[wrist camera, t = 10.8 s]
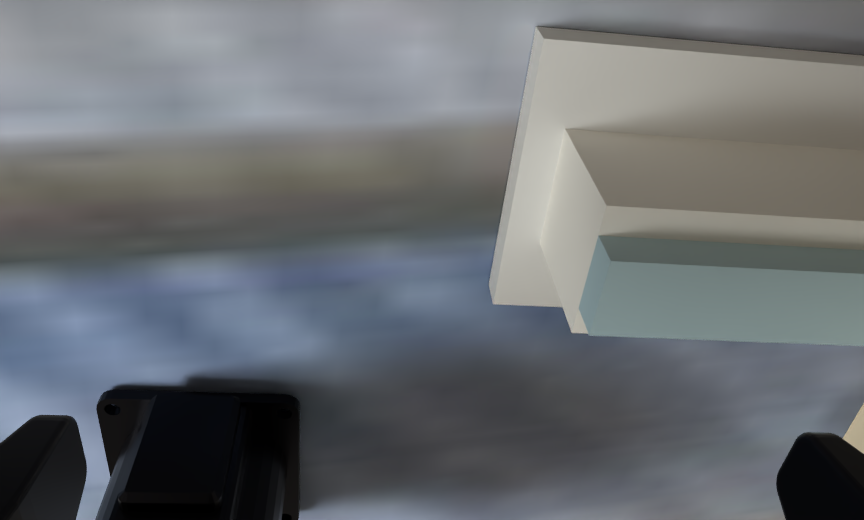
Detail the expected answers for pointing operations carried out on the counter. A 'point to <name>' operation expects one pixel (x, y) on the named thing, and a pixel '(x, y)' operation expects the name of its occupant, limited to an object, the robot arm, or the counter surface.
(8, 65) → the counter surface
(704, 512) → the counter surface
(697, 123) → the ridge stand
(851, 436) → the birch bar
